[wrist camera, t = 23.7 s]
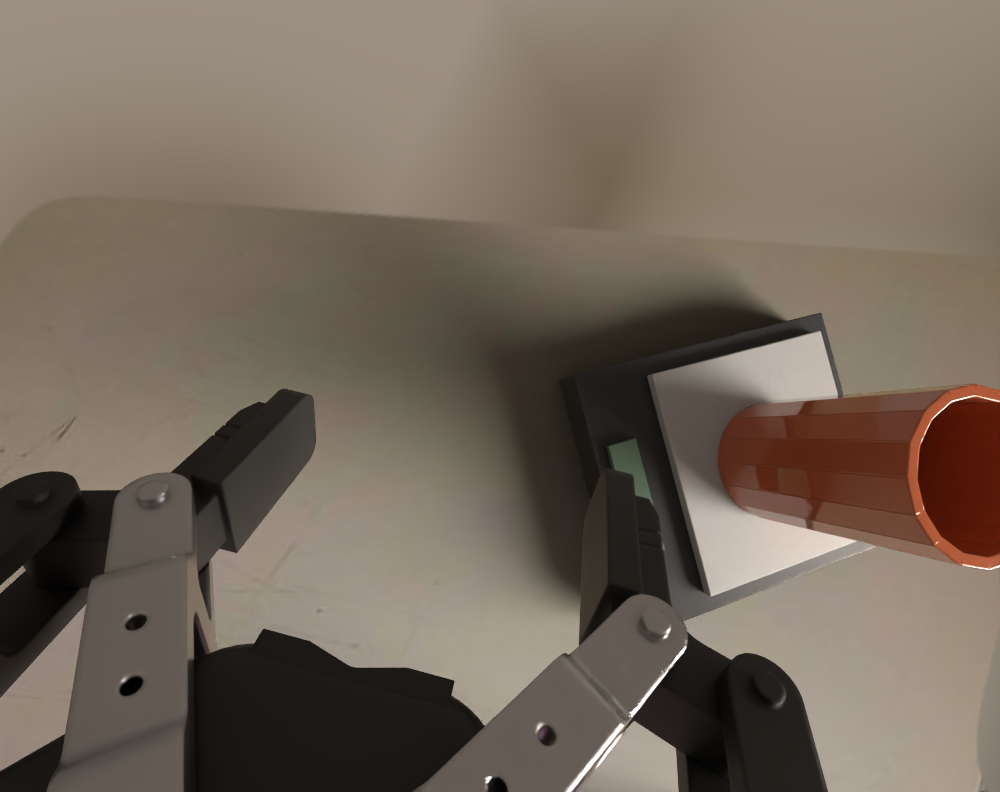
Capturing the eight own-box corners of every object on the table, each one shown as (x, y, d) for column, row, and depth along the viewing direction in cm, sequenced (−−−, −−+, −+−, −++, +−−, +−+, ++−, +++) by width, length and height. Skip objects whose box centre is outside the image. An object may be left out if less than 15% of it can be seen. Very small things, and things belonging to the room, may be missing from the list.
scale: (558, 379, 28) (577, 373, 25) (789, 321, 31) (830, 309, 28) (621, 620, 27) (648, 642, 24) (847, 534, 31) (894, 545, 28)
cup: (696, 445, 26) (876, 452, 16) (778, 380, 27) (991, 351, 17) (758, 541, 26) (972, 607, 16) (836, 473, 27) (1078, 496, 18)
